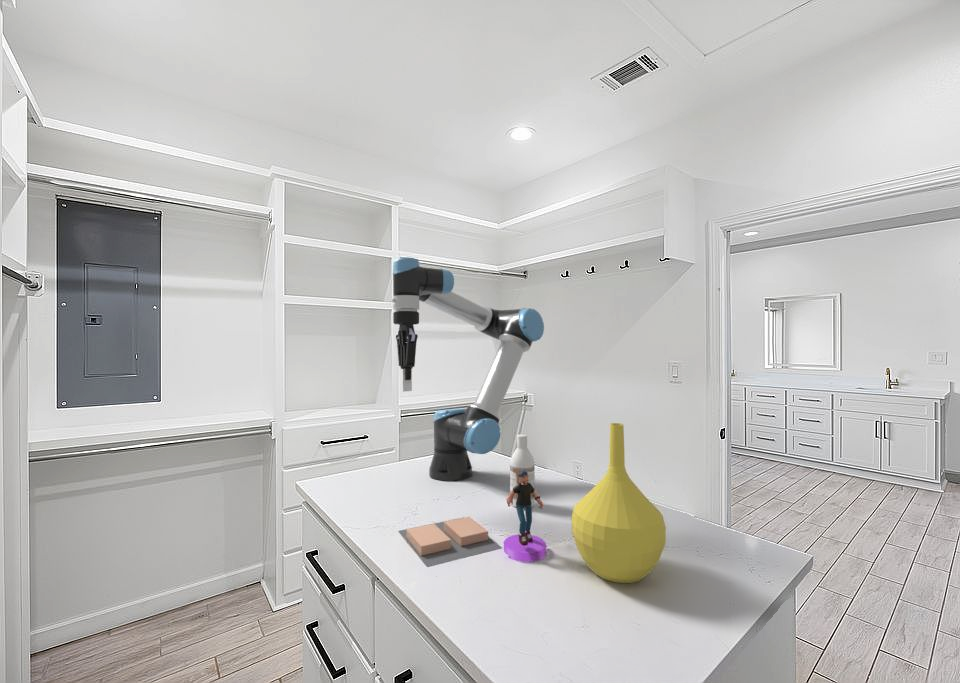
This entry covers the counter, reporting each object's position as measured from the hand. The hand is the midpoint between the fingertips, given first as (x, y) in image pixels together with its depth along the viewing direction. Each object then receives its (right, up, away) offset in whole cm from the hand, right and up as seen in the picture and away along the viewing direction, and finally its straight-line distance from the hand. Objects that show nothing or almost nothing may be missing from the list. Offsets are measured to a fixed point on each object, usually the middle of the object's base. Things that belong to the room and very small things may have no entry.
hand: (406, 390), depth 132 cm
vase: (+50, -32, -41) cm, 72 cm away
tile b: (+7, -31, -25) cm, 40 cm away
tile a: (+16, -31, -20) cm, 40 cm away
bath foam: (+34, -32, -4) cm, 47 cm away
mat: (+14, -32, -27) cm, 44 cm away
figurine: (+32, -32, -32) cm, 56 cm away
